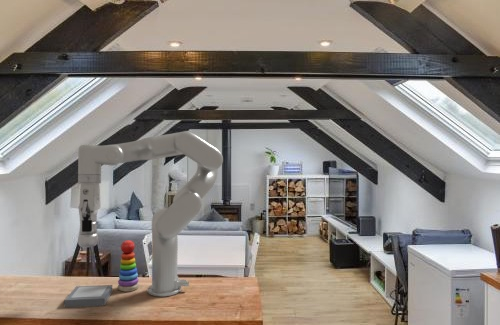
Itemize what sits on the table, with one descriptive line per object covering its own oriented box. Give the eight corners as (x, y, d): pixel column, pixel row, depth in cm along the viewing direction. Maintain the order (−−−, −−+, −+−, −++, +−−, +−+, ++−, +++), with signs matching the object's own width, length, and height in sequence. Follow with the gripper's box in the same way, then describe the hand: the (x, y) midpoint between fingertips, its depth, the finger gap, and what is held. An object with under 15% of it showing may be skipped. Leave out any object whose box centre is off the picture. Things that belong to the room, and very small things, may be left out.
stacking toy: (141, 284, 149) (141, 238, 149) (135, 292, 141) (136, 243, 141) (121, 284, 149) (121, 238, 149) (114, 292, 141) (115, 243, 141)
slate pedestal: (112, 291, 142) (112, 284, 142) (104, 305, 129) (104, 297, 129) (76, 292, 140) (76, 285, 140) (64, 307, 127) (64, 299, 127)
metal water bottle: (74, 246, 134) (74, 191, 133) (93, 243, 139) (93, 189, 138) (82, 250, 129) (82, 193, 128) (101, 246, 134) (101, 191, 133)
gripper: (94, 181, 125) (94, 234, 126) (106, 177, 142) (105, 224, 143) (70, 181, 124) (70, 235, 125) (85, 177, 141) (85, 225, 142)
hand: (89, 229), depth 134 cm, fingers closed on metal water bottle, 5 cm apart
